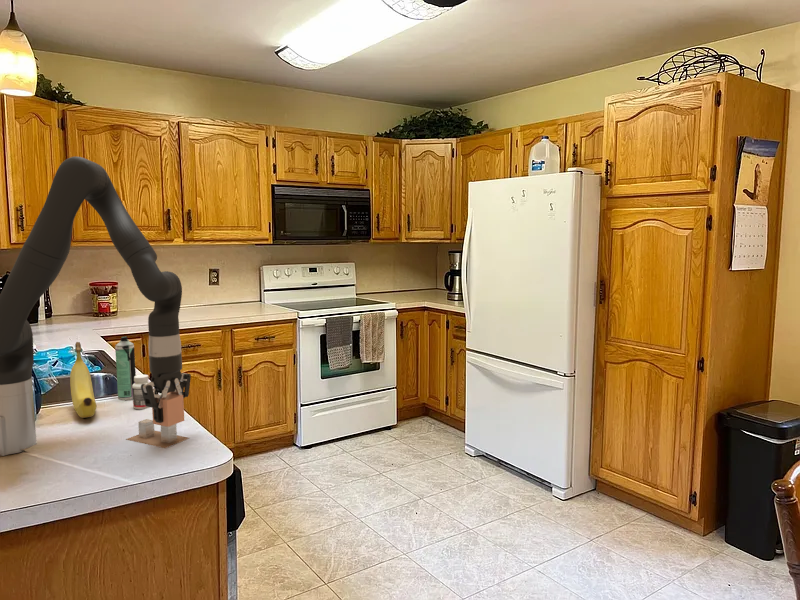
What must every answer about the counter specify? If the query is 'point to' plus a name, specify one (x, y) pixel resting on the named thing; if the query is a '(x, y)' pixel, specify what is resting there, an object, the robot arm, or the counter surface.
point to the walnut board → (156, 440)
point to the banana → (82, 387)
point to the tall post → (168, 434)
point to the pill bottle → (139, 391)
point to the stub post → (146, 428)
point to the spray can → (125, 368)
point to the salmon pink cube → (171, 410)
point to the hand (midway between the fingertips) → (168, 418)
